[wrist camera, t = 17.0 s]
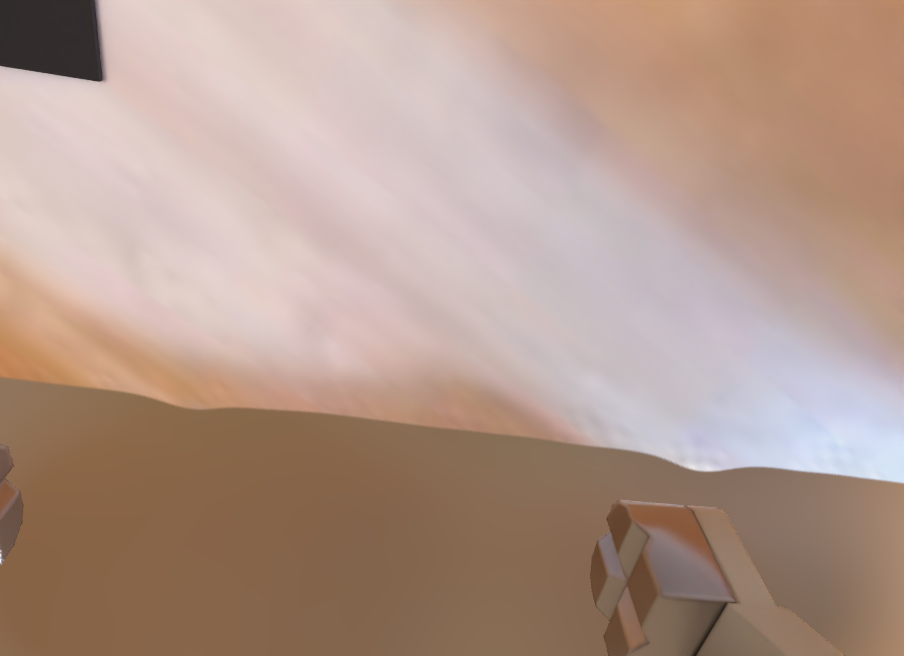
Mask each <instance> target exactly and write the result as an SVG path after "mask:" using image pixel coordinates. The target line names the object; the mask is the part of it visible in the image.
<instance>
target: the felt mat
mask: <svg viewBox="0 0 904 656" xmlns="http://www.w3.org/2000/svg"><path fill="white" fill-rule="evenodd" d="M0 66H5V67H11V68H17V69H24V70H30V71H36V72H42V73H49V74H55V75H61V76H67V77H74V78H80V79H86V80H92V81H102V70H101V60H100V51H99V41H98V31H97V22H96V12H95V2H94V0H0Z"/></svg>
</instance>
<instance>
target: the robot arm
mask: <svg viewBox="0 0 904 656" xmlns="http://www.w3.org/2000/svg"><path fill="white" fill-rule="evenodd" d="M13 467H14V464H13V460H12V457H11V454H10V450H9V447H8V446H6V445H3V444H1V443H0V565H1V564H2V563H3V562H4V560H5V559H6V557H7V555H8V554H9V552H10V551H11V549H12V548H13V546H14V545H15V542H16V539H17V536H18V533H19V530H20V527H21V524H22V518H23V501H22V497H21V493H20V491H19V490H18V489H17V488H16V487H15V486H14V485H13V484H12V483H11V482H9V481H8V480H7V479H6V478H5V477H6V475H7V474H8V473H9V472H10V470H11V469H12V468H13ZM607 522H608V525H609V528H610V532H609V533H608V534H606V535H605V536H603V537H602V538H600V539H599V540H598V541H597V544H596V546H595V549H594V552H593V555H592V561H591V572H590V579H591V588H592V594H593V598H594V602H595V606H596V608H597V609H598V610H599V611H600V612H601V613H602V614H603V615H604V616H605V617H606V618H607V619H608V620H609V622H610V623H609V625H608V627H607V629H606V631H605V633H604V636H603V637H604V641H605V644H606V648H607V652H608V656H845V655H844V654H842V653H841V652H840V651H839V650H837V649H836V648H835V647H834V646H832V645H831V644H830V643H829V642H828V641H827V640H825V639H824V638H823V637H822V636H821V635H819V634H818V633H817V632H816V631H814V630H813V629H812V628H811V627H810V626H808V625H807V624H806V623H805V622H804V621H802V620H801V619H800V618H799V617H798V616H796V615H795V614H794V613H793V612H791V611H790V610H789V609H788V608H785V607H776V605H775V603H774V601H773V599H772V598H771V596H770V594H769V592H768V590H767V588H766V586H765V585H764V583H763V581H762V579H761V577H760V575H759V574H758V572H757V570H756V568H755V566H754V564H753V562H752V561H751V559H750V557H749V555H748V553H747V551H746V549H745V547H744V546H743V544H742V542H741V540H740V538H739V537H738V535H737V533H736V531H735V529H734V527H733V525H732V523H731V522H730V520H729V518H728V516H727V515H726V514H725V513H724V512H723V511H722V510H721V509H720V508H712V507H699V506H687V505H686V506H681V505H673V504H661V503H649V502H637V501H625V500H618V501H617V502H616V503H615V504H614V505H612V507H611V509H610V512H609V514H608V516H607Z"/></svg>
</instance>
